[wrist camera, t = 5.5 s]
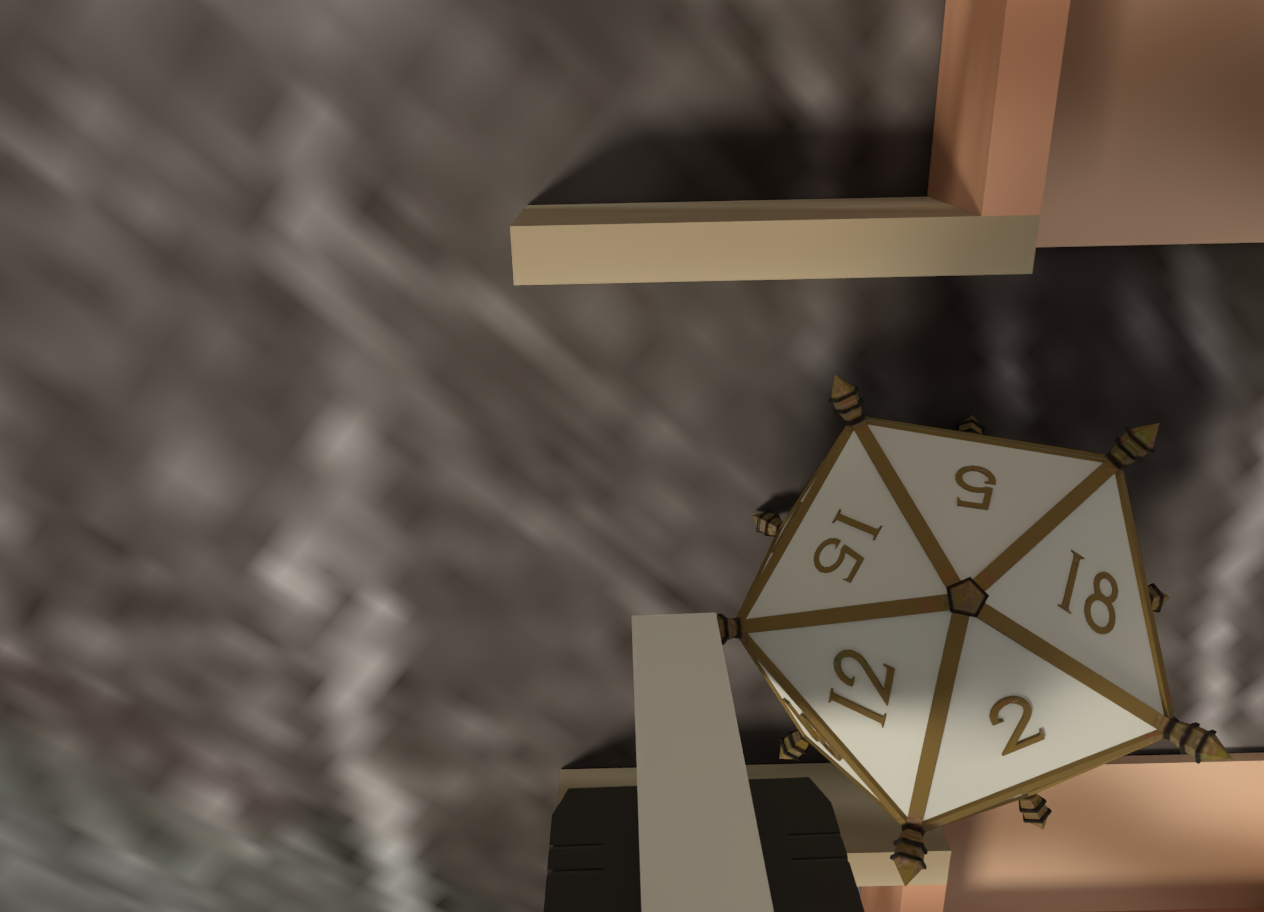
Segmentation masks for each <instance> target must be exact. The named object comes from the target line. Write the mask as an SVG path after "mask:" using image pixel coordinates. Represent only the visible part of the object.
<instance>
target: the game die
mask: <svg viewBox="0 0 1264 912" xmlns="http://www.w3.org/2000/svg"><path fill="white" fill-rule="evenodd" d="M857 391H858V386H856V387H853V386H852V385H850V384H849V383H847V382H845V381H844V380H842V379H841V378H839V377H838V376H836V375H835V377H834V383H833V389H832V395H831V398H830V399H829V400H828V401H829V402H831V403H833V404H834V406H835V408H836V410H835V411H834V412H835V414H840V415H841V416H842V417H843V419H844V420H845V422H846V426H845V428H844V429H843V431H842V432H841V434H840V435H839V437H838V439H837V440H836V442H835V443H834V445H833V446H832V448H831V449H830V451H829V452H828V454H827V455H826V457H825V458H824V460H823V461H822V463H821V465H820V466H819V468H818V469H817V471H816V472H815V474H814V475H813V477H812V478H811V480H810V481H809V483H808V484H807V486H806V487H805V489H804V491H803V492H802V494H801V495H800V497H799V498H798V500H797V501H796V503H795V504H794V506H793V507H792V509H791V510H790V512H789V513H788V515H787V517H786V518H785V520H784V521H783V522H782V521H781V519H780V517H779V515H778V514H775V515H774V514H772V512H771V510H769V509H768V510H767V511H766V512H764V513H760V514H756V515H752V516H753V519H754V521H755V524H756V527H757V528H756V532H760V533H764V535H765V536H774V537H775V538H774V540H773V542H772V544H771V546H770V548H769V550H768V552H767V554H766V556H765V559H764V561H763V563H762V565H761V567H760V569H759V571H758V573H757V575H756V577H755V580H754V582H753V584H752V586H751V588H750V590H749V592H748V594H747V596H746V598H745V601H744V603H743V605H742V607H741V609H740V611H739V613H738V615H737V617H736V618H733V619H731V618H727V617H725V616H724V615H722V614H718V616H717V621H718V627H719V632H720V637H721V642H722V645H723V644H725V643H726V641H727V640H729V639H732V638H738V639H740V641H741V642H742V644H743V645H744V647H745V649H746V650H747V652H748V653H749V655H750V656H751V658H752V659H753V661H754V662H755V664H756V665H757V667H758V669H759V670H760V672H761V673H762V675H763V676H764V678H765V679H766V681H767V682H768V684H769V685H770V687H771V689H772V690H773V692H774V693H775V695H776V696H777V698H778V699H779V701H780V702H781V704H782V705H783V707H784V709H785V710H786V712H787V713H788V715H789V716H790V718H791V719H792V721H793V722H794V724H795V725H796V727H797V729H798V731H794V732H788V733H787V737H785V738H781V739H779V740H780V743H781V748H780V757H779V759H794V760H796V761H799V760H800V756H801V755H802V754H804V755H805V754H806V752H807V749H808V745H809V744H811V745H812V746H814V747H815V748H816V749H817V750H818V751H819V752H820V753H821V754H822V755H824V756H825V757H826V758H827V759H828V760H829V761H830V762H831V763H832V764H833V765H835V766H836V767H837V768H838V769H839V770H840V771H841V772H842V773H843V774H845V775H846V776H847V777H848V778H849V779H850V780H851V781H852V782H853V783H855V784H856V785H857V786H858V787H859V788H860V789H861V790H862V791H863V792H865V793H866V794H867V795H868V796H869V797H870V798H871V799H872V800H873V801H874V802H876V803H877V804H878V805H879V806H880V807H881V808H882V809H883V810H884V811H886V812H887V813H888V814H889V815H890V816H891V817H892V818H893V819H894V820H896V821H897V822H898V823H899V824H900V825H901V826H902V832H901V834H900V836H899V838H898V839H897V840H895V841H893V845H895V846H896V847H895V852H894V854H893V855H890V859H891V860H893V861H894V863H895V865H896V867H897V870H898V872H899V874H900V877H901V879H902V881H903V883H904V886H906V885H907V884H908V883H909V882H910V881H911V880H912V879H913V878H914V877H915V876H916V875H917V874H918V873H919V872H920V871H921V870H922V869H926V867H927V866H926V864H925V862H924V854H927V852H928V851H927V849H926V847H925V845H924V842H923V836H924V833H925V832H927V831H930V830H933V829H935V828H938V827H941V826H944V825H947V824H950V823H953V822H956V821H959V820H962V819H965V818H968V817H971V816H974V815H976V814H979V813H982V812H985V811H988V810H991V809H994V808H997V807H1000V806H1003V805H1006V804H1009V803H1012V802H1015V801H1018V800H1019V811H1020V812H1023V821H1024V823H1031V824H1033V825H1035V826H1037V827H1039V828H1040V829H1042V830H1044V827H1045V824H1046V821H1047V817H1048V816H1049V815H1050V813H1051V812H1052V810H1051V809H1050V808H1048V807H1047V806H1046V805H1045V804H1046V802H1047V801H1046V800H1045V799H1044V798H1042V797H1041V796H1039V795H1038V794H1037V793H1038V792H1041V791H1043V790H1045V789H1048V788H1050V787H1052V786H1055V785H1057V784H1059V783H1062V782H1064V781H1066V780H1069V779H1071V778H1073V777H1076V776H1078V775H1080V774H1083V773H1085V772H1087V771H1089V770H1092V769H1094V768H1096V767H1099V766H1101V765H1103V764H1106V763H1108V762H1110V761H1113V760H1115V759H1117V758H1120V757H1122V756H1124V755H1127V754H1129V753H1131V752H1134V751H1136V750H1138V749H1141V748H1143V747H1145V746H1148V745H1150V744H1152V743H1155V742H1157V741H1159V740H1161V739H1168V740H1170V741H1172V742H1173V743H1174V744H1175V745H1176V746H1177V747H1178V748H1179V752H1180V753H1181V754H1183V755H1184V754H1185V753H1187V754H1189V755H1190V756H1192V757H1194V758H1195V762H1196V763H1198V764H1199V763H1200V762H1201V761H1234V760H1233V759H1232V757H1231V756H1230V754H1229V753H1228V752H1227V750H1226V749H1225V748H1224V746H1223V745H1222V744H1221V742H1220V741H1219V739H1218V738H1217V737H1216V735H1215V734H1216V731H1215V730H1210V731H1207V730H1205V729H1203V728H1200V727H1199V725H1200V724H1198V723H1196V722H1195V723H1192V724H1188V723H1184V722H1180V721H1179V720H1178V719H1176V718H1175V715H1174V710H1173V706H1172V701H1171V696H1170V691H1169V686H1168V682H1167V677H1166V672H1165V667H1164V662H1163V658H1162V653H1161V648H1160V643H1159V638H1158V634H1157V629H1156V624H1155V619H1154V614H1153V611H1154V612H1160V610H1161V607H1162V605H1163V604H1164V603H1165V602H1166V601H1167V600H1168V598H1169V596H1167V595H1166V594H1164V593H1163V592H1161V591H1160V590H1159V589H1158V588H1157V587H1156V585H1155V584H1154V583H1153V584H1150V585H1149V586H1147V581H1146V576H1145V571H1144V567H1143V562H1142V557H1141V552H1140V547H1139V543H1138V538H1137V533H1136V528H1135V523H1134V519H1133V514H1132V509H1131V504H1130V499H1129V495H1128V490H1127V485H1126V480H1125V475H1124V471H1123V470H1124V469H1125V467H1126V466H1127V465H1129V464H1131V463H1134V462H1136V461H1138V462H1142V461H1143V459H1142V457H1143V456H1144V455H1146V454H1147V453H1148V452H1151V453H1153V452H1155V450H1154V449H1153V446H1154V442H1155V438H1156V434H1157V431H1158V427H1159V423H1156V424H1151V425H1146V426H1141V427H1137V428H1132V429H1130V428H1129V427H1127V428H1126V429H1125V430H1126V433H1125V434H1124V435H1123V436H1122V437H1121V438H1120V439H1119V438H1118V437H1117V438H1116V439H1115V442H1116V444H1115V446H1114V447H1113V449H1112V451H1111V452H1109V453H1107V454H1099V453H1093V452H1087V451H1081V450H1074V449H1068V448H1062V447H1055V446H1049V445H1043V444H1036V443H1030V442H1024V441H1017V440H1011V439H1005V438H998V437H992V436H986V435H981V433H982V432H983V431H984V430H985V427H984V426H982V425H981V424H979V423H978V421H977V420H976V419H975V418H974V416H973V415H972V416H970V417H969V418H967V419H966V420H965V421H963V422H960V423H957V426H958V430H959V431H954V430H948V429H942V428H935V427H929V426H923V425H916V424H910V423H904V422H897V421H891V420H885V419H879V418H872V417H866V416H864V414H863V413H862V407H861V405H862V403H863V399H862V398H860V399H859V396H858V394H857Z"/></svg>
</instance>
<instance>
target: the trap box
mask: <svg viewBox="0 0 1264 912" xmlns="http://www.w3.org/2000/svg"><path fill="white" fill-rule="evenodd" d="M510 233H511V248H512V263H513V278H514V285H546V284H591V283H637V282H683V281H729V280H774V279H820V278H866V277H911V276H957V275H1003V274H1032V271H1033V264H1034V257H1035V250H1036V247H1074V246H1119V245H1165V244H1211V243H1257V242H1264V0H946V5H945V15H944V26H943V36H942V47H941V57H940V68H939V78H938V89H937V99H936V110H935V120H934V130H933V141H932V151H931V162H930V172H929V183H928V193H927V197H886V198H840V199H793V200H747V201H700V202H654V203H608V204H561V205H526V207H525V208H524V209H523V210H522V212H521V213H520V214H519V216H518V217H517V218H516V219H515V221H514V222H513V223H512V225H511V226H510ZM1229 754H1230V756H1231V757H1232V759H1233V760H1234V761H1201V762H1200V763H1199V764H1198V763H1196V762H1195V758H1194V757H1192V756H1190V755H1189V754H1184V755H1183V754H1182V755H1140V756H1122V757H1120V758H1117V759H1115V760H1113V761H1110V762H1108V763H1106V764H1103V765H1101V766H1099V767H1096V768H1094V769H1092V770H1089V771H1087V772H1085V773H1083V774H1080V775H1078V776H1076V777H1073V778H1071V779H1069V780H1066V781H1064V782H1062V783H1059V784H1057V785H1055V786H1052V787H1050V788H1048V789H1045V790H1043V791H1041V792H1038V793H1037V794H1038V795H1039V796H1041V797H1042V798H1044V799H1045V800H1046V801H1047V802H1046V804H1045V805H1046V806H1047V807H1048V808H1050V809H1051V810H1052V812H1051V813H1050V815H1049V816H1048V817H1047V821H1046V824H1045V827H1044V830H1042V829H1040V828H1039V827H1037V826H1035V825H1033V824H1031V823H1024V821H1023V812H1020V811H1019V800H1018V801H1015V802H1012V803H1009V804H1006V805H1003V806H1000V807H997V808H994V809H991V810H988V811H985V812H982V813H979V814H976V815H974V816H971V817H968V818H965V819H962V820H959V821H956V822H953V823H950V824H947V825H944V826H941V827H938V828H935V829H933V830H930V831H927V832H925V833H924V836H923V842H924V845H925V847H926V849H927V851H928V852H927V854H924V862H925V864H926V866H927V867H926V869H922V870H921V871H920V872H919V873H918V874H917V875H916V876H915V877H914V878H913V879H912V880H911V881H910V882H909V883H908V884H907V885H906V886H904V883H903V881H902V879H901V877H900V874H899V872H898V870H897V867H896V865H895V863H894V861H893V860H891V859H890V855H893V854H894V852H895V847H896V846H895V845H893V841H895V840H897V839H898V838H899V836H900V834H901V832H902V826H901V825H900V824H899V823H898V822H897V821H896V820H894V819H893V818H892V817H891V816H890V815H889V814H888V813H887V812H886V811H884V810H883V809H882V808H881V807H880V806H879V805H878V804H877V803H876V802H874V801H873V800H872V799H871V798H870V797H869V796H868V795H867V794H866V793H865V792H863V791H862V790H861V789H860V788H859V787H858V786H857V785H856V784H855V783H853V782H852V781H851V780H850V779H849V778H848V777H847V776H846V775H845V774H843V773H842V772H841V771H840V770H839V769H838V768H837V767H836V766H835V765H833V764H832V763H807V764H766V765H745V766H746V771H747V776H748V779H770V778H797V777H810V779H811V780H812V781H813V782H814V783H815V784H816V785H817V787H818V788H819V789H820V790H821V791H822V792H823V793H824V795H825V796H826V797H827V798H828V799H829V800H830V801H831V803H832V806H833V809H834V813H835V816H836V819H837V823H838V826H839V829H840V835H841V838H842V839H843V842H844V846H845V849H846V852H847V856H848V862H850V865H851V869H852V872H853V875H854V879H855V882H856V885H857V887H860V886H861V897H860V898H861V902H862V905H863V908H864V911H865V912H1264V753H1229ZM617 786H637V768H599V769H560V780H559V791H558V803H557V806H558V805H559V803H560V801H561V800H562V798H563V797H564V795H565V793H566V792H567V790H568V789H569V788H590V787H617Z"/></svg>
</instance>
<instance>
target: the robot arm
mask: <svg viewBox="0 0 1264 912" xmlns="http://www.w3.org/2000/svg"><path fill="white" fill-rule="evenodd" d="M632 642H633V672H634V702H635V732H636V762H637V786H617V787H590V788H569V789H568V790H567V792H566V793H565V795H564V797H563V798H562V800H561V801H560V803H559V805H558V806H557V808H556V810H555V811H554V813H553V814H552V822H551V834H550V851H549V857H548V869H547V872H548V875H547V881H546V893H545V904H544V912H865V911H864V908H863V905H862V902H861V898H860V895H859V892H858V888H857V885H856V882H855V879H854V875H853V872H852V869H851V865H850V862H848V856H847V852H846V849H845V846H844V842H843V839H842V838H841V835H840V829H839V826H838V823H837V819H836V816H835V813H834V809H833V806H832V803H831V801H830V800H829V799H828V798H827V797H826V796H825V795H824V793H823V792H822V791H821V790H820V789H819V788H818V787H817V785H816V784H815V783H814V782H813V781H812V780H811V779H810V777H797V778H770V779H748V776H747V771H746V766H745V761H744V755H743V750H742V745H741V740H740V735H739V730H738V724H737V719H736V714H735V709H734V704H733V699H732V694H731V688H730V683H729V678H728V673H727V668H726V663H725V658H724V652H723V647H722V642H721V637H720V632H719V627H718V621H717V616H716V613H692V614H663V615H636V616H632Z"/></svg>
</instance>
